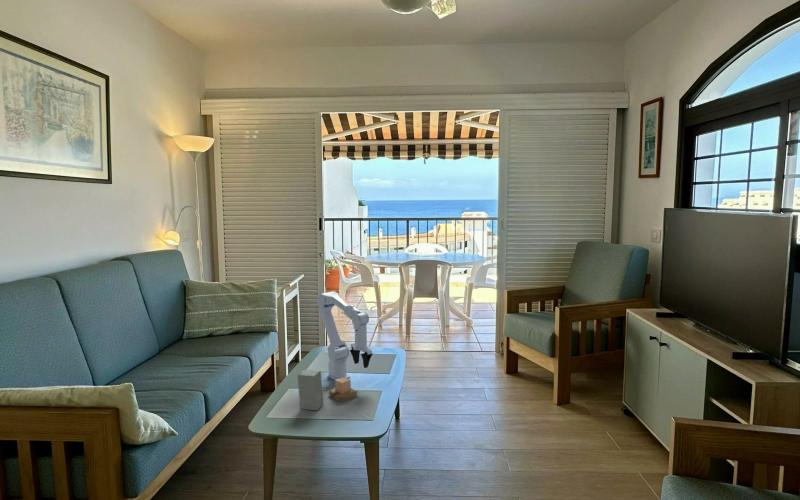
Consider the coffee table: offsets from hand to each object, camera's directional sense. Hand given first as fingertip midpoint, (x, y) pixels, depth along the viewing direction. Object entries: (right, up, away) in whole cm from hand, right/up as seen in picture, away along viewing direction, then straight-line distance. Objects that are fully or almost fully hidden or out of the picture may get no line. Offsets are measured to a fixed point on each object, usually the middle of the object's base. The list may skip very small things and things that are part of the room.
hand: (361, 365), depth 222 cm
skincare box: (-20, -13, -23) cm, 33 cm away
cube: (-7, -9, -12) cm, 16 cm away
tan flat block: (-7, -12, -12) cm, 18 cm away
